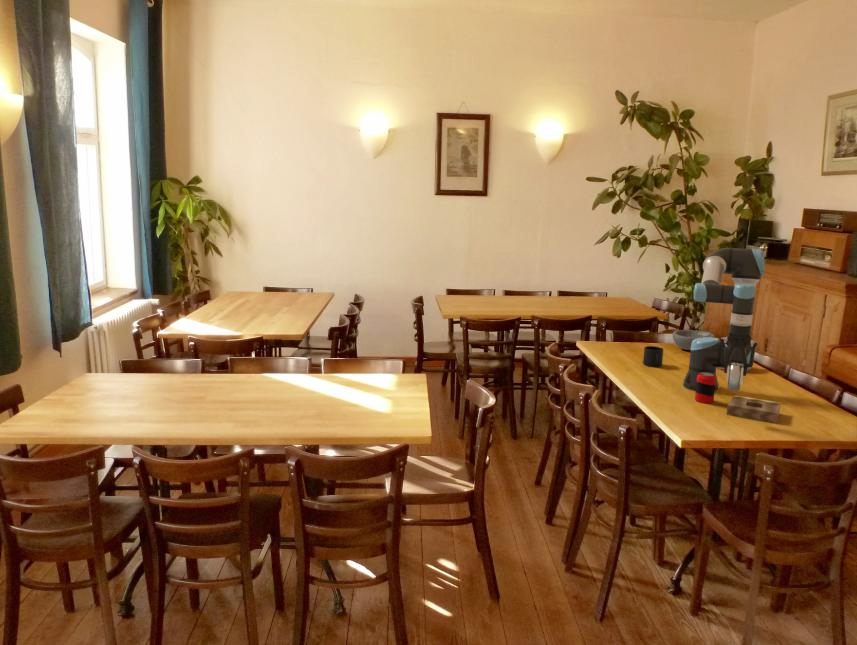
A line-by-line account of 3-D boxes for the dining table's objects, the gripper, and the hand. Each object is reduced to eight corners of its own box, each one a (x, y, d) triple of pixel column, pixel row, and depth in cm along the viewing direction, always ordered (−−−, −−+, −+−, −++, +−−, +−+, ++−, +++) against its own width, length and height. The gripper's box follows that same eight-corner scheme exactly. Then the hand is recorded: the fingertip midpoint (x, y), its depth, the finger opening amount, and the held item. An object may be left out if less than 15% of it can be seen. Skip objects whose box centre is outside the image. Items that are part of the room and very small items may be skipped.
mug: (647, 368, 337) (648, 351, 335) (640, 362, 349) (642, 345, 347) (665, 368, 337) (667, 351, 335) (658, 363, 348) (660, 346, 347)
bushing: (726, 389, 259) (729, 364, 257) (728, 386, 262) (731, 362, 260) (738, 391, 256) (741, 366, 254) (740, 388, 260) (743, 363, 258)
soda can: (692, 398, 289) (694, 371, 286) (709, 398, 289) (712, 372, 286) (698, 403, 281) (701, 376, 279) (716, 403, 281) (719, 376, 279)
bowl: (667, 344, 393) (669, 327, 391) (706, 346, 390) (708, 329, 388) (676, 353, 371) (677, 336, 369) (718, 355, 368) (720, 338, 366)
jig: (726, 414, 268) (728, 403, 267) (731, 405, 279) (732, 394, 278) (776, 423, 258) (777, 411, 257) (779, 413, 270) (780, 402, 269)
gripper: (715, 323, 255) (709, 380, 260) (764, 328, 246) (757, 388, 251) (718, 319, 262) (712, 376, 266) (766, 325, 253) (759, 383, 257)
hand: (734, 382), depth 259 cm, fingers closed on bushing, 4 cm apart
